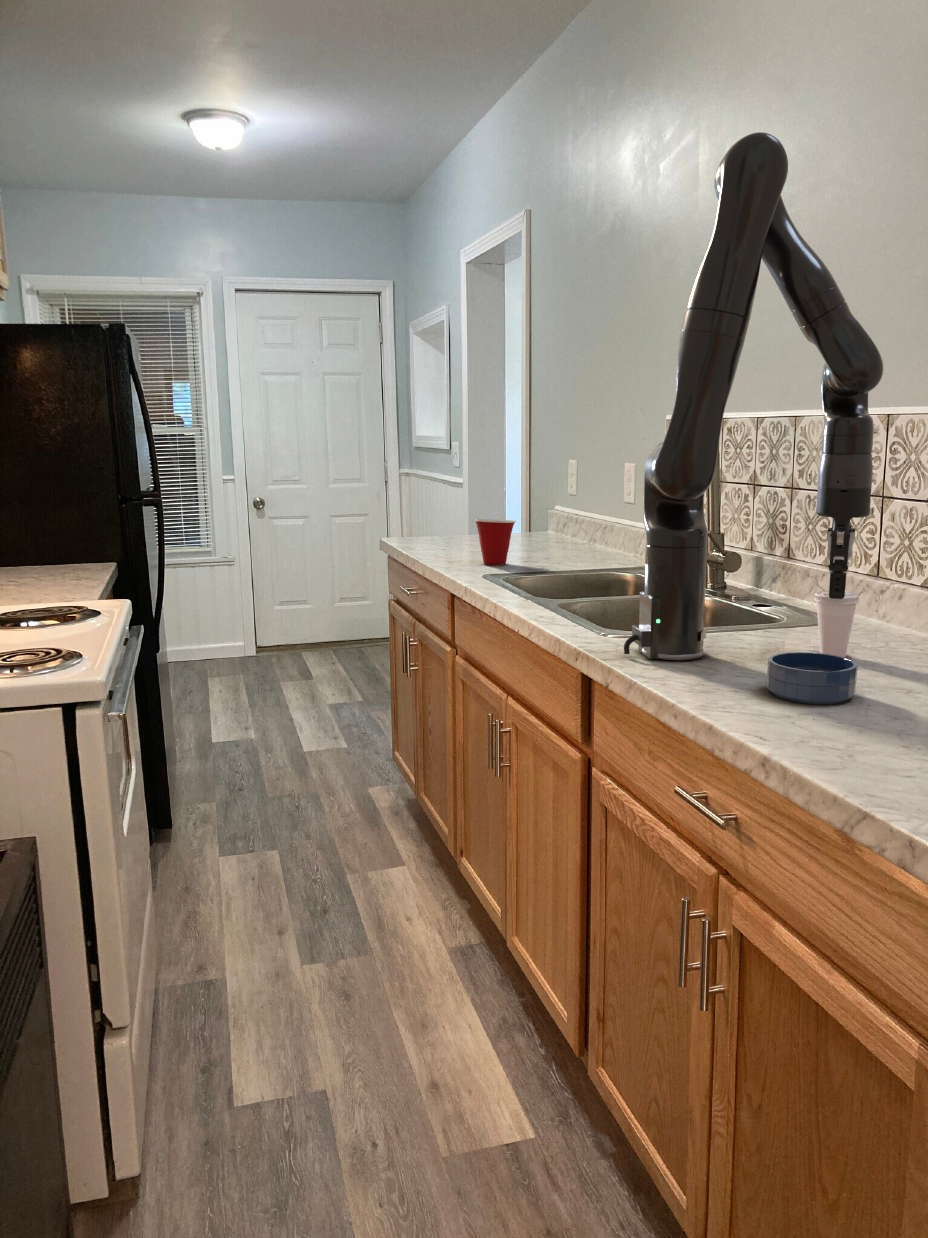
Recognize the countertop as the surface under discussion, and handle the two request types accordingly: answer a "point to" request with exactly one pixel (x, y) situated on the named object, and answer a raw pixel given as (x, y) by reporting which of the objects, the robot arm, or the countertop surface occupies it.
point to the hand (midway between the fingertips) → (837, 594)
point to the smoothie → (835, 622)
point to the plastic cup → (494, 540)
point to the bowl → (811, 677)
